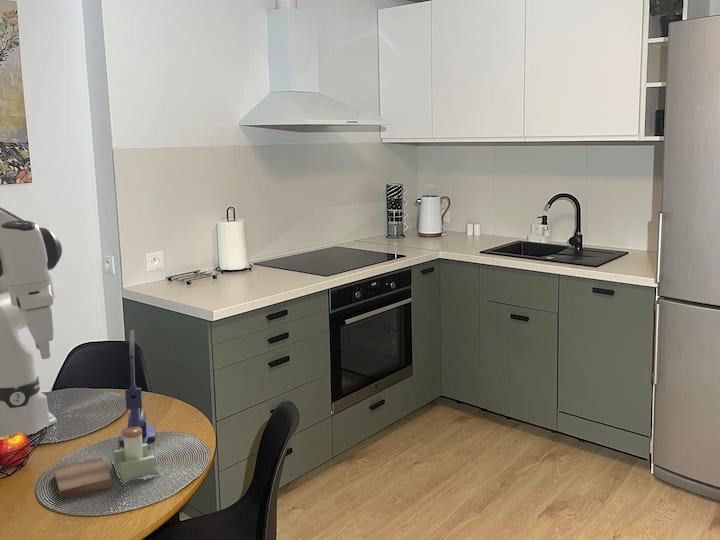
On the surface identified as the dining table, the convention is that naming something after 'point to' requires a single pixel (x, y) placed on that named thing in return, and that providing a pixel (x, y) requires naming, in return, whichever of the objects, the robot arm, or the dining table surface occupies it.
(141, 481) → the mat
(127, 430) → the mushroom
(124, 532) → the dining table surface
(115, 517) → the dining table surface
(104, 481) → the board
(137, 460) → the rack
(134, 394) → the hand press
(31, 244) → the robot arm
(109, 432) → the dining table surface
